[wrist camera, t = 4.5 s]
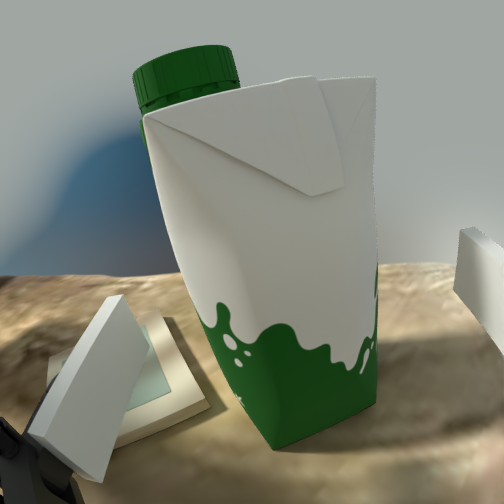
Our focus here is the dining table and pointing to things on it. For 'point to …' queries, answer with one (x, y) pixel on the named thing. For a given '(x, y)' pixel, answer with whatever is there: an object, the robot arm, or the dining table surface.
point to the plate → (153, 384)
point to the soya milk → (271, 230)
